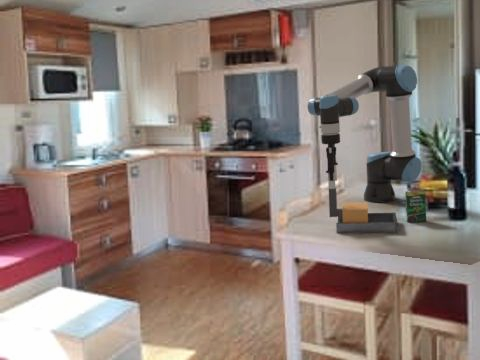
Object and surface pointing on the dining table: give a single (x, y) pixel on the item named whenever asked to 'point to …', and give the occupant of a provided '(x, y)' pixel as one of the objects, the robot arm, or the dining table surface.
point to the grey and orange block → (348, 209)
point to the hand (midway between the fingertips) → (332, 184)
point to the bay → (370, 224)
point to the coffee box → (415, 206)
